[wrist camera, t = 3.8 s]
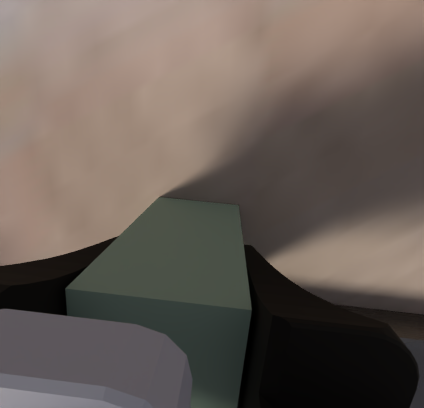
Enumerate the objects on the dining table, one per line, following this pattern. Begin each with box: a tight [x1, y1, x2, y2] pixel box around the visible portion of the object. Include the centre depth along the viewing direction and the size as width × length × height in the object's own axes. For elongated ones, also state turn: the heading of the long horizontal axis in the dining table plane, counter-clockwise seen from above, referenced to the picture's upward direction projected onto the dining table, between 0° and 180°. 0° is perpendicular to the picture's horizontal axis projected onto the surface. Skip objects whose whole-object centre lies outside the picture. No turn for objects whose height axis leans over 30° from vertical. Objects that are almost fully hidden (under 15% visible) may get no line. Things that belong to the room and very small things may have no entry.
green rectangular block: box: [65, 197, 252, 408], centre depth 10 cm, size 4×4×8 cm
